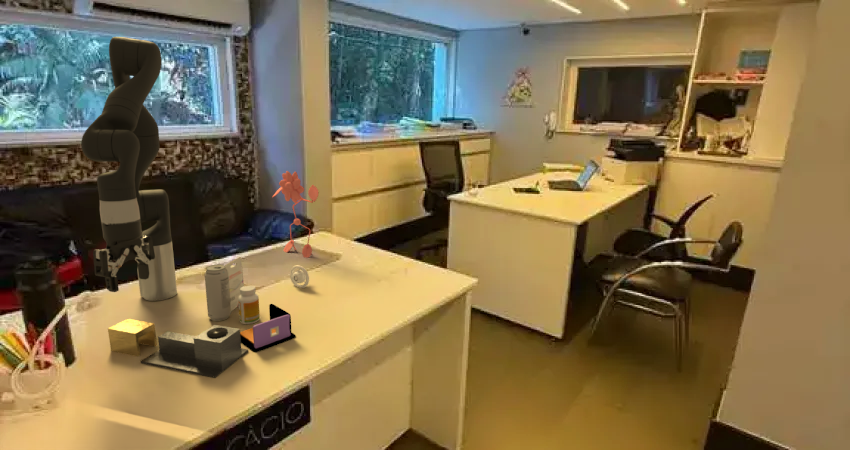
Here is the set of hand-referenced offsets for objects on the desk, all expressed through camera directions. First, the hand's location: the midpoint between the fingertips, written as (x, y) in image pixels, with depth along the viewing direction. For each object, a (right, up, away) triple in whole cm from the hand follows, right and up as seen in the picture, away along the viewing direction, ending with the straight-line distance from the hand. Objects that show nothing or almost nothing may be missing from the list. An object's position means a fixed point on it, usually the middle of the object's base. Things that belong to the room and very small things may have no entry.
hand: (129, 284), depth 109 cm
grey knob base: (+15, -17, +1) cm, 23 cm away
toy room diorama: (+28, -16, +12) cm, 34 cm away
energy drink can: (+12, -12, +22) cm, 28 cm away
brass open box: (-1, -16, +4) cm, 17 cm away
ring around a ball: (+29, -7, +46) cm, 54 cm away
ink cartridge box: (+12, -10, +29) cm, 33 cm away
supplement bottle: (+21, -13, +21) cm, 32 cm away
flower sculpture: (+17, 0, +73) cm, 75 cm away
